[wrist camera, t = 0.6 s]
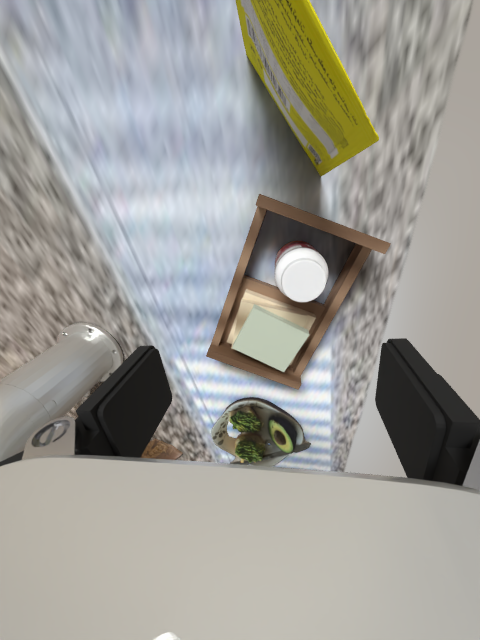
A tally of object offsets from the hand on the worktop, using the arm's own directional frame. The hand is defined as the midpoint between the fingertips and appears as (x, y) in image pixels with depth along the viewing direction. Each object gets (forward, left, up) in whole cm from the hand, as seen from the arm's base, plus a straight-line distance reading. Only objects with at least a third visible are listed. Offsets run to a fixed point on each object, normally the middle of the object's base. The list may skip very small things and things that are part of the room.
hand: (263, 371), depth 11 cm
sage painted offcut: (-11, -4, -24) cm, 27 cm away
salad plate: (-34, -11, -30) cm, 46 cm away
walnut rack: (-5, -4, -29) cm, 30 cm away
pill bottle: (0, -4, -29) cm, 29 cm away
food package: (+15, +4, -29) cm, 33 cm away
